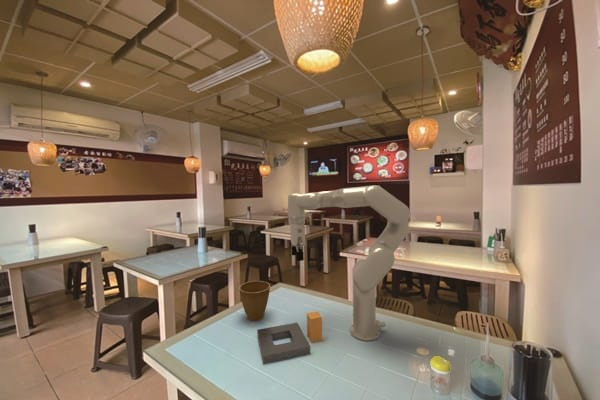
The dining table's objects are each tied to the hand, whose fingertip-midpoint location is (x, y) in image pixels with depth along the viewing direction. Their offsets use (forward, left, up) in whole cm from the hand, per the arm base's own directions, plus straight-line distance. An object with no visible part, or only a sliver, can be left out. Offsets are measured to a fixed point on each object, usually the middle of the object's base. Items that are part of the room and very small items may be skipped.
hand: (297, 257), depth 113 cm
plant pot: (+18, -14, -32) cm, 39 cm away
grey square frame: (+10, +11, -32) cm, 35 cm away
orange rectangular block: (-4, +11, -32) cm, 34 cm away
